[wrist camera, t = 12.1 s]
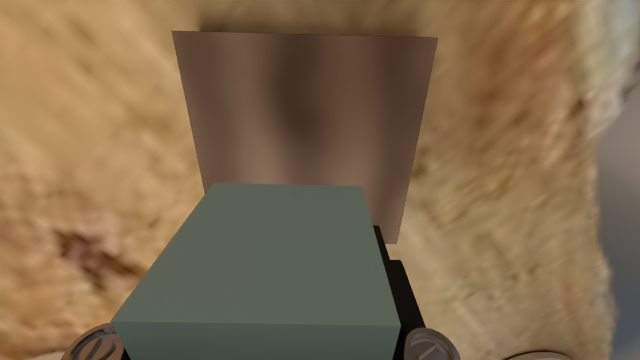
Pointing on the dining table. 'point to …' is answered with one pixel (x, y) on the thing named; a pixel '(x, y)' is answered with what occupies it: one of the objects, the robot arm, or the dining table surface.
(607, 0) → the dining table surface
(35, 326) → the dining table surface
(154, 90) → the dining table surface
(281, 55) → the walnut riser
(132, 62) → the dining table surface
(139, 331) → the teal cube
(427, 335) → the robot arm
